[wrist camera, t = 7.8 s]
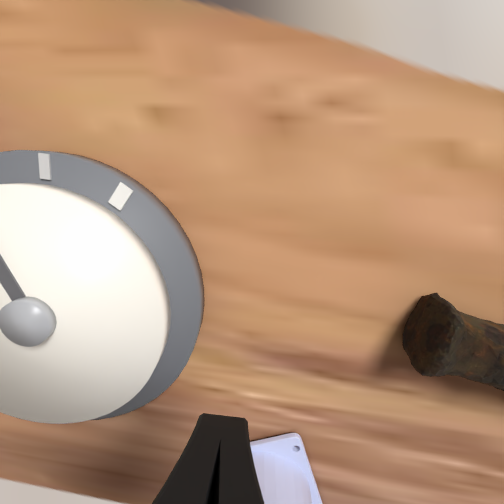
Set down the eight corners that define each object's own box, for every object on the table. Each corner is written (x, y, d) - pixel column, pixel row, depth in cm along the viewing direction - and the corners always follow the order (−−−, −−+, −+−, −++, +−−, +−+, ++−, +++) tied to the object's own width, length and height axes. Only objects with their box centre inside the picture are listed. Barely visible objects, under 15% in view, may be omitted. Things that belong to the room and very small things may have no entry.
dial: (207, 369, 17) (190, 436, 13) (13, 427, 19) (-58, 504, 14) (101, 142, 14) (32, 132, 10) (-125, 234, 15) (-269, 260, 11)
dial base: (239, 370, 19) (237, 388, 18) (19, 424, 21) (0, 445, 19) (142, 109, 15) (129, 103, 14) (-123, 202, 17) (-161, 206, 15)
